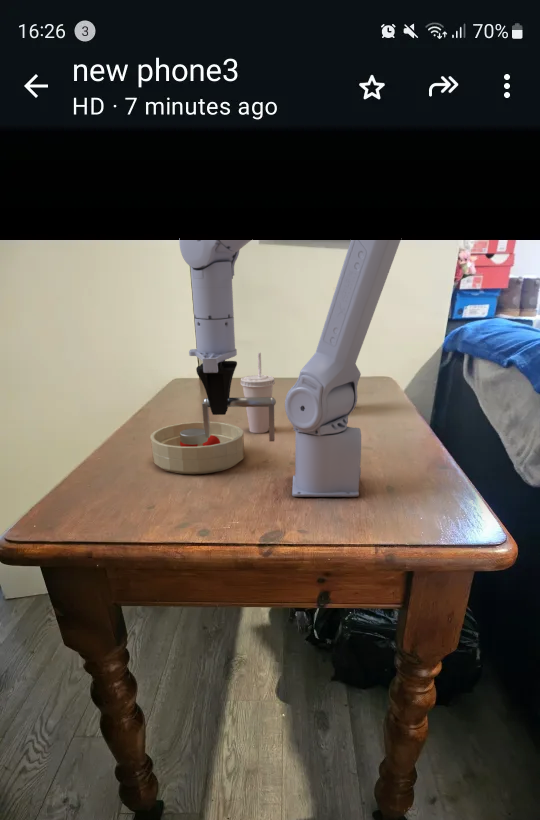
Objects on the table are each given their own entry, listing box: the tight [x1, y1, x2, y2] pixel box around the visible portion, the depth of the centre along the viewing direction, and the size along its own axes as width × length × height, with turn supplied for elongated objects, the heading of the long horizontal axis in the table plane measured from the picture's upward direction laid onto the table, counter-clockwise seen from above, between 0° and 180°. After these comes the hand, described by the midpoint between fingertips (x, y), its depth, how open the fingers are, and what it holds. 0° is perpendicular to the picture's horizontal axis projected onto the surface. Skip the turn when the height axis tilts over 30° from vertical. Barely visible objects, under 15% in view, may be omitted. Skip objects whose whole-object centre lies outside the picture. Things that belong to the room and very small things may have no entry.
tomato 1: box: [180, 441, 198, 447], centre depth 99 cm, size 3×3×3 cm
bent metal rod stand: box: [180, 396, 277, 445], centre depth 92 cm, size 16×4×7 cm, turn 87°
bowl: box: [149, 421, 245, 475], centre depth 97 cm, size 15×15×4 cm
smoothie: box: [240, 352, 276, 434], centre depth 110 cm, size 6×6×14 cm
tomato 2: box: [203, 435, 220, 446], centre depth 99 cm, size 3×3×3 cm
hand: (220, 412), depth 92 cm, fingers closed on bent metal rod stand
